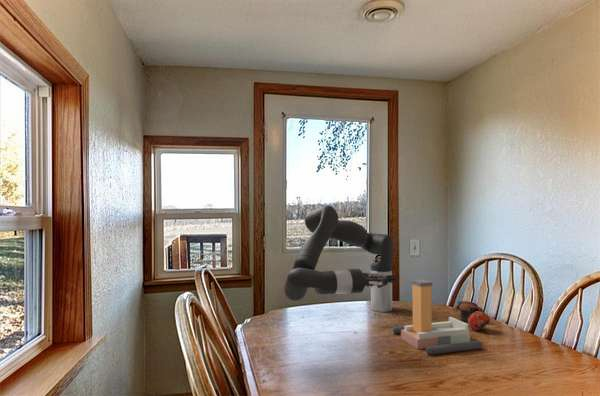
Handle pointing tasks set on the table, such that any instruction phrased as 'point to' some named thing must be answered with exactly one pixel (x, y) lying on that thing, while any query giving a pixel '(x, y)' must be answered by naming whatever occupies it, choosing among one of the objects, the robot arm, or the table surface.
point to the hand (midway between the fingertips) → (395, 278)
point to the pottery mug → (466, 309)
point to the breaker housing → (437, 334)
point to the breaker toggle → (422, 305)
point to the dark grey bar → (453, 347)
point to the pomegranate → (478, 320)
